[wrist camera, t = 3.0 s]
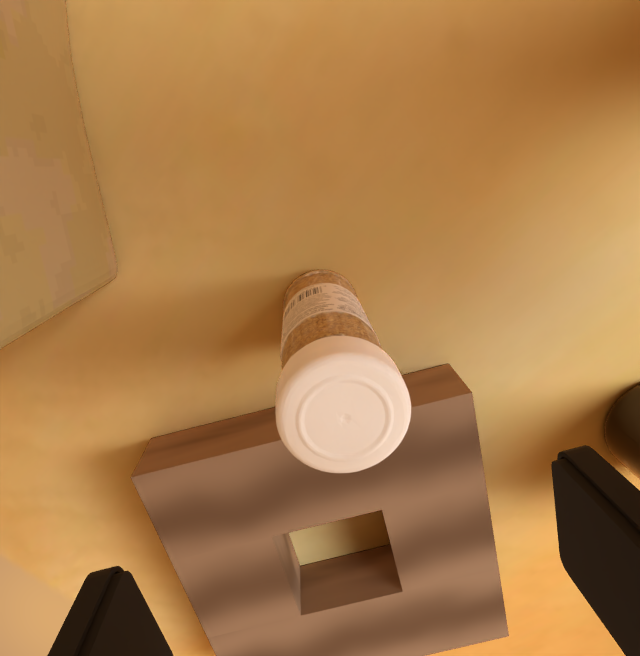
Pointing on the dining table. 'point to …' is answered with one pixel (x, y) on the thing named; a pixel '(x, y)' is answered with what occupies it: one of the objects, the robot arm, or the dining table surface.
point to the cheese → (45, 175)
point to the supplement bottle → (625, 430)
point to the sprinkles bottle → (336, 380)
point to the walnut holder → (324, 507)
